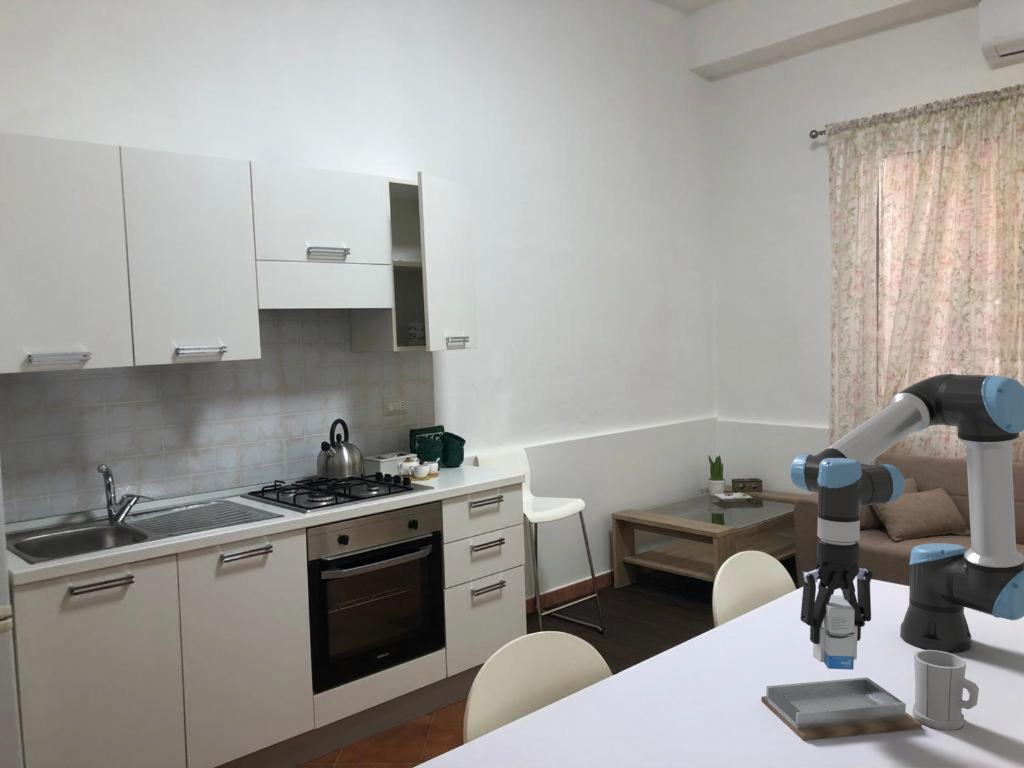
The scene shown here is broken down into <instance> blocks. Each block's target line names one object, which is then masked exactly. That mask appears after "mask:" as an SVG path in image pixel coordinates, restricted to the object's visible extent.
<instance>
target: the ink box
mask: <svg viewBox="0 0 1024 768" xmlns="http://www.w3.org/2000/svg"><path fill="white" fill-rule="evenodd" d="M854 619H855V610H854V609H853V607H852V606H851V605H850V604H849V602H848V601H847V600H845V599H844V596H843V595H837V594H833V595H831V597H830V600H829V604H826V613H825V616H824V619H823V623H822V627H823V628H825V659H824V662H823V663H824V664H825V666H826V668H827V669H828V670H852V671H853V670H854V668H855V667H854V663H855V662H854V661H855V660H854Z"/></svg>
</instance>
